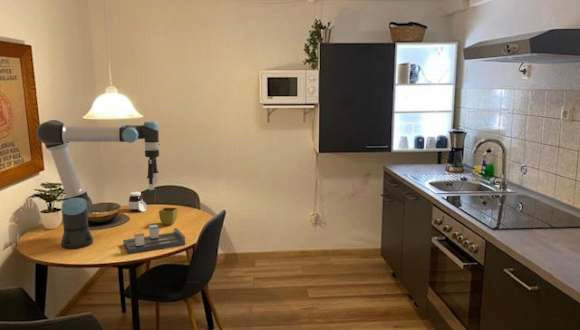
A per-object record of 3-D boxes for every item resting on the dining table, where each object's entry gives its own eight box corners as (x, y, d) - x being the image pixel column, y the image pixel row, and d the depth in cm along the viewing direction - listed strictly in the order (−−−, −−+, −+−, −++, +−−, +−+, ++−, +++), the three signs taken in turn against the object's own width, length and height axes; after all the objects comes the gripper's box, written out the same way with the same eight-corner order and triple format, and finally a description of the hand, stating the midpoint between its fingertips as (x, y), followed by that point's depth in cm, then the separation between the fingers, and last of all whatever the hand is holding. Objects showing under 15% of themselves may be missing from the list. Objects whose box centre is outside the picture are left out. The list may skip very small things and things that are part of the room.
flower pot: (178, 222, 281) (178, 207, 279) (173, 226, 272) (172, 211, 271) (164, 221, 282) (163, 207, 280) (159, 225, 273) (158, 211, 272)
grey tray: (129, 254, 227) (128, 245, 227) (123, 244, 241) (122, 236, 241) (185, 244, 241) (184, 236, 240) (176, 236, 255) (176, 228, 254)
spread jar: (133, 208, 313) (132, 191, 311) (149, 208, 313) (148, 191, 311) (126, 212, 301) (125, 195, 299) (144, 212, 301) (143, 195, 299)
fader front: (136, 246, 230) (135, 234, 229) (134, 243, 234) (133, 232, 233) (144, 244, 232) (144, 233, 231) (143, 242, 236) (142, 231, 235)
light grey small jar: (151, 238, 242) (150, 227, 241) (149, 236, 245) (148, 225, 244) (159, 237, 244) (158, 226, 243) (157, 235, 247) (156, 224, 246)
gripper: (155, 152, 245) (157, 191, 249) (161, 146, 269) (162, 182, 273) (141, 152, 244) (142, 192, 247) (148, 146, 268) (149, 182, 272)
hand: (153, 187), depth 260 cm, fingers open, 13 cm apart
